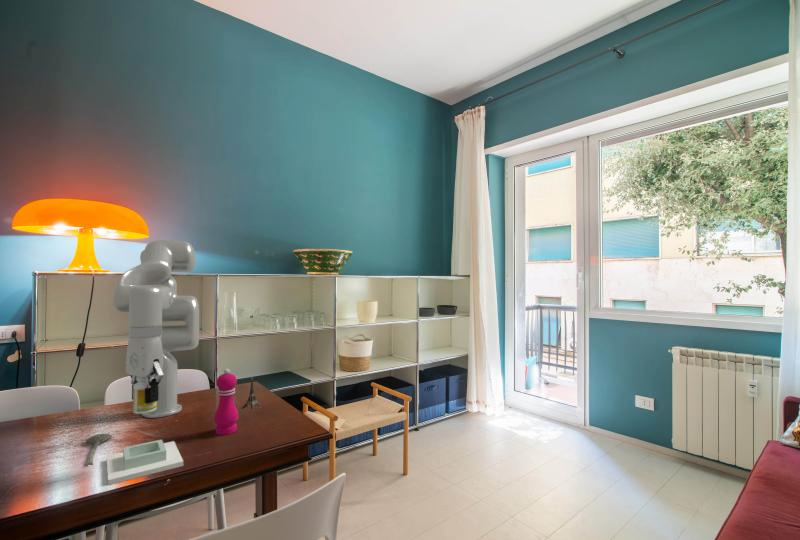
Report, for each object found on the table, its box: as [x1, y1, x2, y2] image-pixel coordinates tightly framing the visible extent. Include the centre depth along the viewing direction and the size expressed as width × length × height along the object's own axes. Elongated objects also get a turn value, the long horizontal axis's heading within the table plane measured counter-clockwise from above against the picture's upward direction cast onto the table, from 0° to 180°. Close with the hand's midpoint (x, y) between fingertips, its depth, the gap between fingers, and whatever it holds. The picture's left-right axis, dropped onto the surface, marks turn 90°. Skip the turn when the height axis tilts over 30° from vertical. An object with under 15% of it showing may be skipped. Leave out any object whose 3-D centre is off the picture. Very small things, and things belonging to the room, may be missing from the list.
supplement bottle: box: [132, 373, 157, 415], centre depth 107 cm, size 5×5×10 cm
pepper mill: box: [213, 368, 239, 436], centre depth 128 cm, size 7×7×20 cm
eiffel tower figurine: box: [242, 376, 262, 410], centre depth 151 cm, size 15×10×13 cm
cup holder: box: [106, 439, 184, 486], centre depth 106 cm, size 16×16×4 cm
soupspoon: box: [84, 433, 113, 467], centre depth 114 cm, size 22×3×7 cm
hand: (145, 399), depth 107 cm, fingers closed on supplement bottle, 5 cm apart
